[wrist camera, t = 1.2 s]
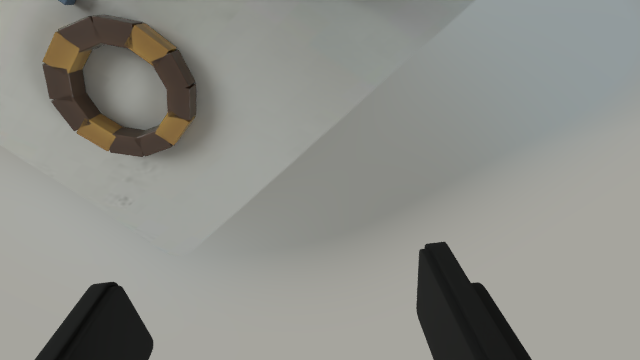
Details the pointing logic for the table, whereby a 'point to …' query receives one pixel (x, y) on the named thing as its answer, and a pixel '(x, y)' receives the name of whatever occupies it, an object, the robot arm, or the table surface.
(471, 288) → the robot arm
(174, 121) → the ring
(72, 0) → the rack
